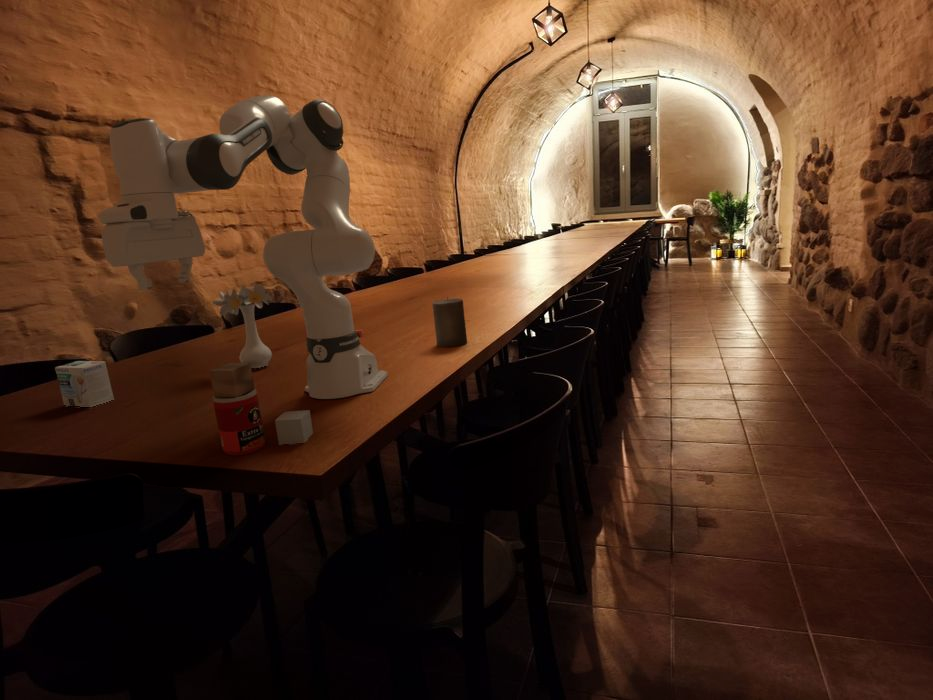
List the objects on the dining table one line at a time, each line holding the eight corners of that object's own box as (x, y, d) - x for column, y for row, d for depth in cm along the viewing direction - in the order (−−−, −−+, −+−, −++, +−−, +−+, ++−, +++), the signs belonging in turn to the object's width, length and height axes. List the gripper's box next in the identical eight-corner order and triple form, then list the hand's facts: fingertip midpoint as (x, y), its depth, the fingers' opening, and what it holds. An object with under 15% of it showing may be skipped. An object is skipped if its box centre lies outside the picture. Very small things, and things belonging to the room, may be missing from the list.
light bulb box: (63, 407, 151) (53, 367, 149) (88, 398, 157) (78, 360, 155) (91, 408, 147) (81, 367, 145) (115, 400, 153) (106, 360, 151)
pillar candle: (472, 343, 182) (468, 295, 179) (445, 348, 177) (440, 300, 174) (457, 339, 190) (453, 293, 187) (431, 344, 185) (426, 298, 182)
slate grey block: (288, 435, 115) (284, 411, 114) (313, 434, 115) (309, 410, 113) (279, 445, 110) (274, 420, 109) (304, 443, 110) (300, 418, 109)
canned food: (246, 457, 105) (236, 400, 103) (213, 454, 108) (202, 398, 106) (275, 441, 112) (265, 387, 110) (242, 439, 115) (232, 386, 113)
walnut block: (233, 388, 111) (228, 363, 110) (254, 388, 109) (250, 363, 108) (214, 396, 106) (209, 370, 105) (236, 397, 105) (231, 370, 104)
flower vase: (242, 362, 185) (227, 283, 179) (293, 360, 180) (280, 280, 174) (215, 373, 173) (198, 289, 167) (269, 372, 168) (254, 286, 162)
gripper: (180, 211, 118) (193, 279, 121) (89, 214, 99) (107, 294, 102) (205, 208, 116) (218, 277, 119) (116, 210, 97) (134, 293, 100)
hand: (166, 285), depth 110 cm, fingers open, 8 cm apart
